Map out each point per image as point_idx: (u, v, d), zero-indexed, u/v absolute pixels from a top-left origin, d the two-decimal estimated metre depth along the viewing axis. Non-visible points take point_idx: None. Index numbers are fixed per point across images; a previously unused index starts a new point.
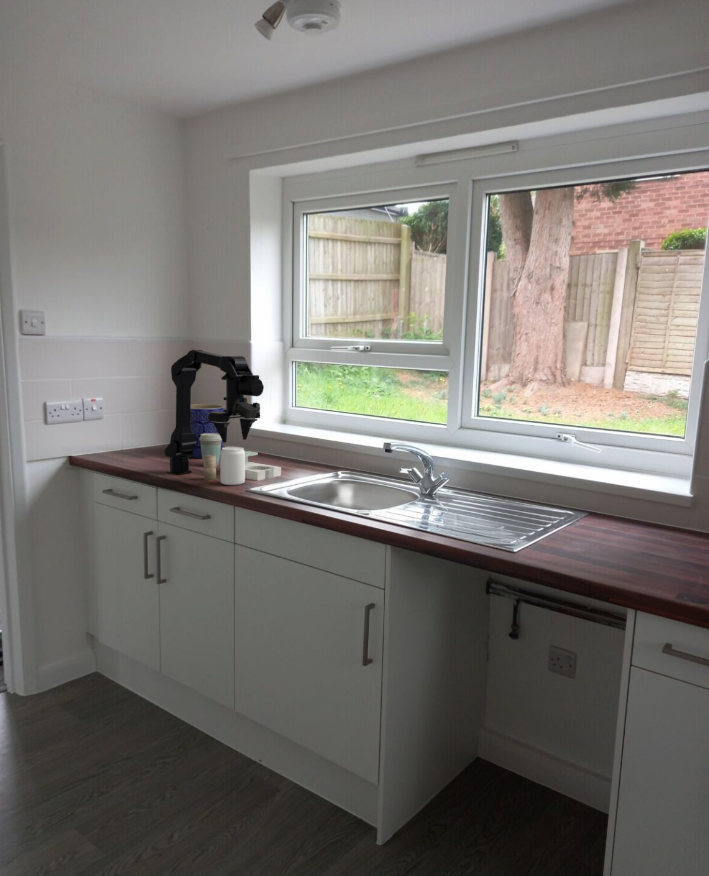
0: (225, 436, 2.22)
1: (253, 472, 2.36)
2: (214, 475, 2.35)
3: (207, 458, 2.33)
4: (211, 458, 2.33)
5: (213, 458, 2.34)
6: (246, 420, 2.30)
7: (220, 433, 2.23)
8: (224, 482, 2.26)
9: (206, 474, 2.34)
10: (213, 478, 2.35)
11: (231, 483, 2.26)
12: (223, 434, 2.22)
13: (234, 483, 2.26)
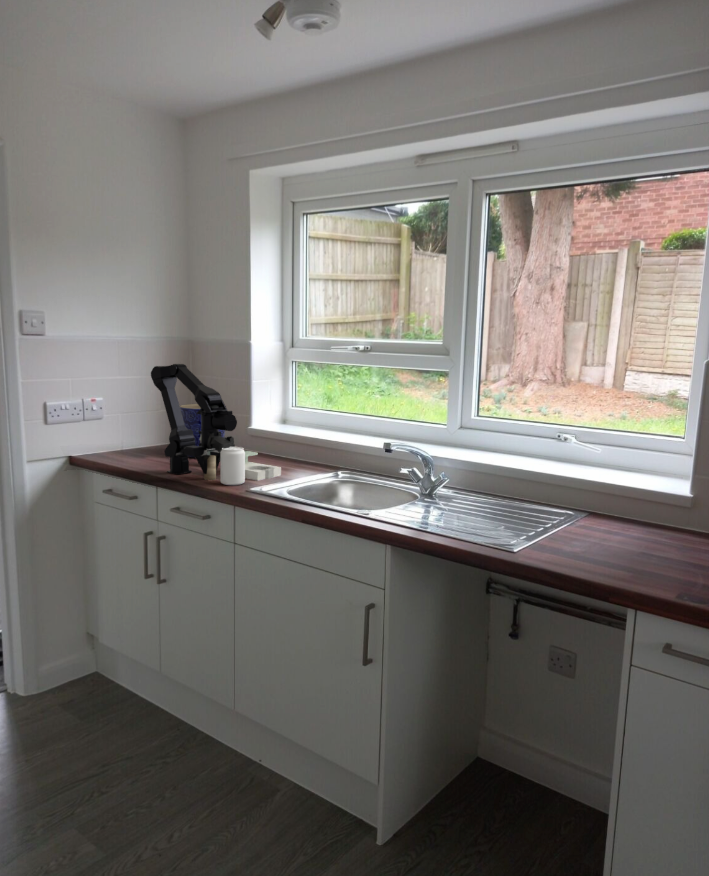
0: (205, 468, 2.33)
1: (253, 472, 2.36)
2: (214, 475, 2.35)
3: None
4: (211, 458, 2.33)
5: (213, 458, 2.34)
6: (216, 453, 2.37)
7: (201, 465, 2.33)
8: (224, 482, 2.26)
9: (206, 474, 2.34)
10: (213, 478, 2.35)
11: (231, 483, 2.26)
12: (203, 466, 2.33)
13: (234, 483, 2.26)
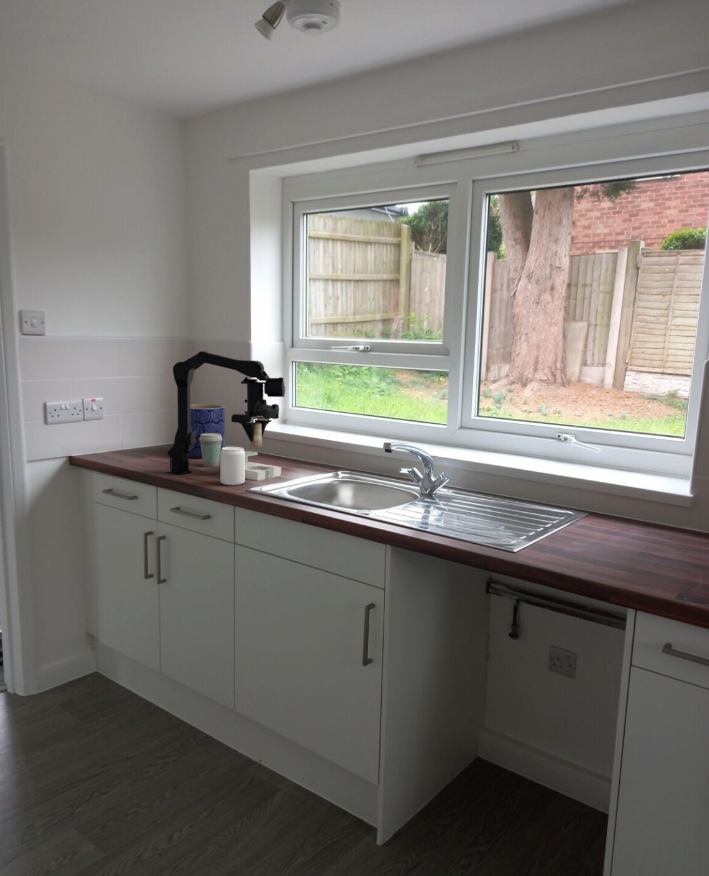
0: (252, 435, 2.39)
1: (253, 472, 2.36)
2: (260, 442, 2.41)
3: None
4: (257, 425, 2.40)
5: (259, 425, 2.40)
6: (261, 421, 2.43)
7: (247, 432, 2.40)
8: (224, 482, 2.26)
9: (252, 442, 2.40)
10: (259, 445, 2.41)
11: (231, 483, 2.26)
12: (250, 433, 2.39)
13: (234, 483, 2.26)
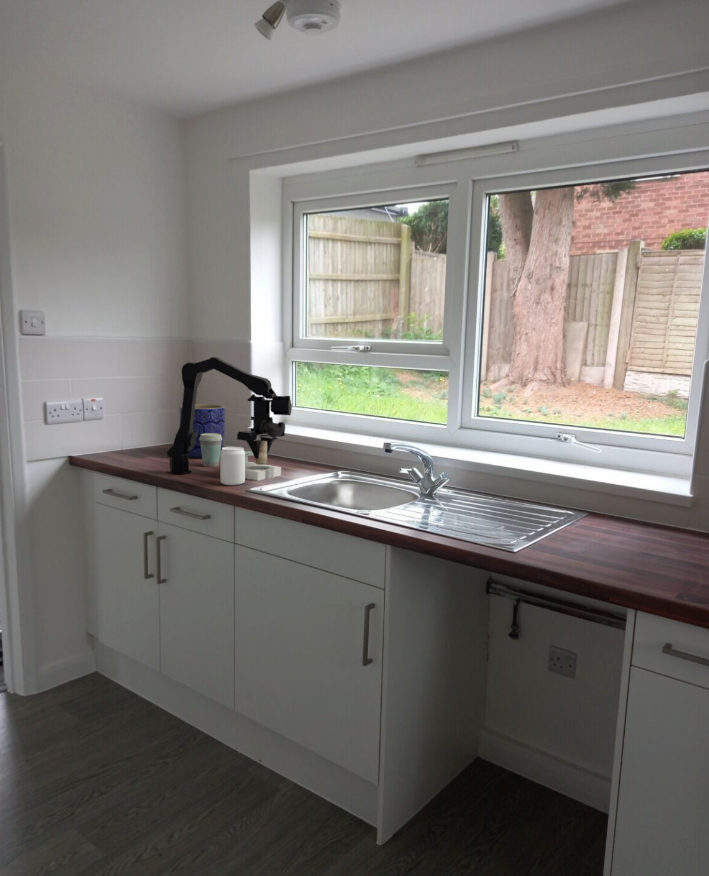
0: (257, 453, 2.39)
1: (253, 472, 2.36)
2: (265, 460, 2.41)
3: None
4: (263, 443, 2.39)
5: (265, 443, 2.39)
6: (267, 439, 2.43)
7: (253, 450, 2.39)
8: (224, 482, 2.26)
9: (257, 459, 2.40)
10: (264, 463, 2.40)
11: (231, 483, 2.26)
12: (255, 451, 2.38)
13: (234, 483, 2.26)
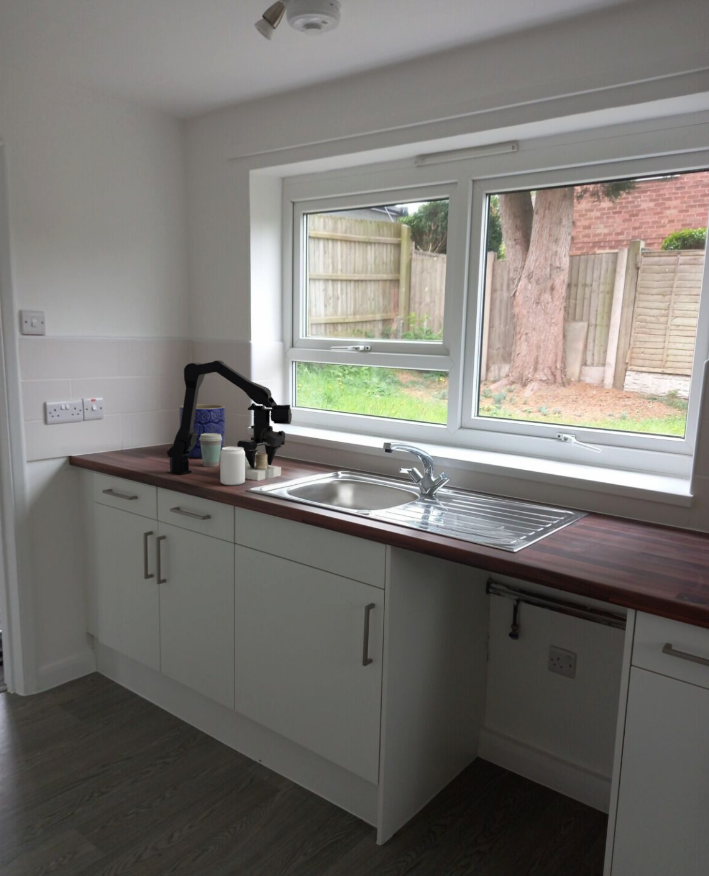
0: (253, 462, 2.37)
1: (253, 472, 2.36)
2: None
3: (259, 456, 2.39)
4: (263, 456, 2.40)
5: (265, 456, 2.40)
6: (271, 447, 2.45)
7: (248, 460, 2.38)
8: (224, 482, 2.26)
9: None
10: None
11: (231, 483, 2.26)
12: (251, 461, 2.37)
13: (234, 483, 2.26)
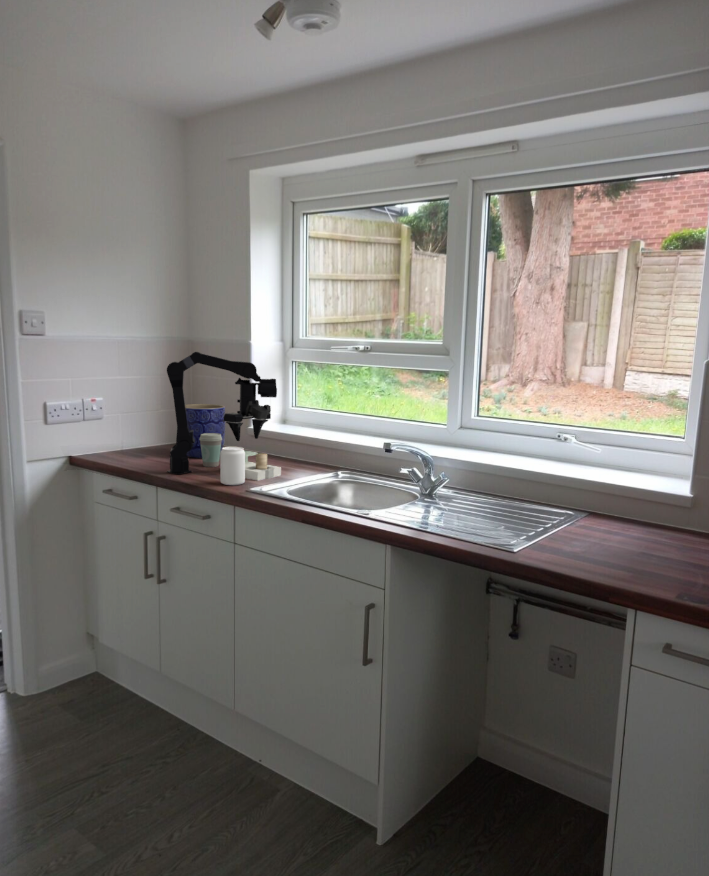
0: (238, 435, 2.44)
1: (253, 472, 2.36)
2: None
3: (259, 456, 2.39)
4: (263, 456, 2.40)
5: (265, 456, 2.40)
6: (258, 421, 2.51)
7: (234, 432, 2.44)
8: (224, 482, 2.26)
9: None
10: None
11: (231, 483, 2.26)
12: (237, 433, 2.43)
13: (234, 483, 2.26)
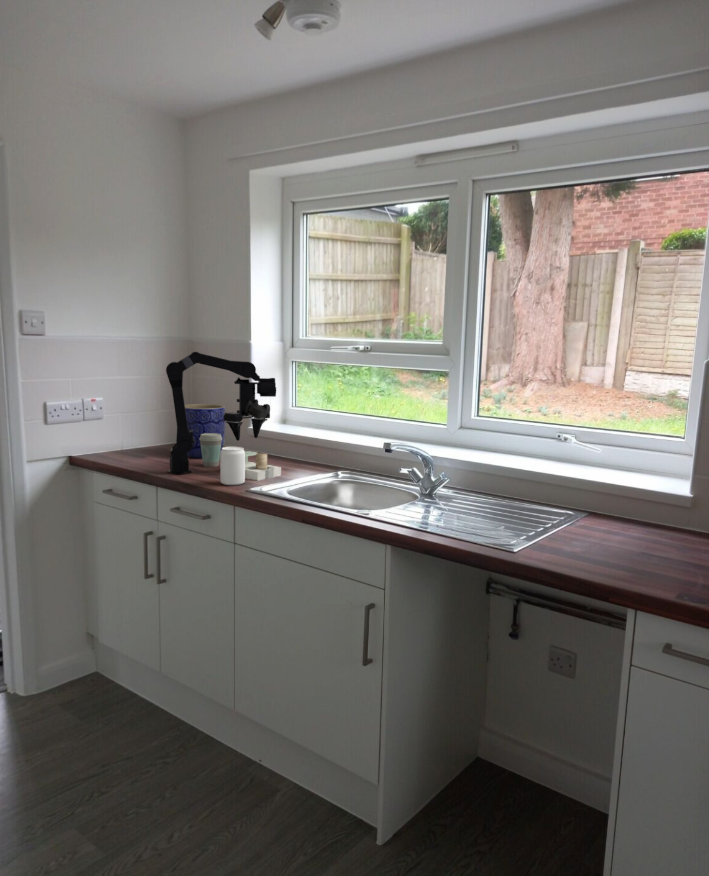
0: (238, 434, 2.44)
1: (253, 472, 2.36)
2: None
3: (259, 456, 2.39)
4: (263, 456, 2.40)
5: (265, 456, 2.40)
6: (257, 420, 2.52)
7: (234, 432, 2.44)
8: (224, 482, 2.26)
9: None
10: None
11: (231, 483, 2.26)
12: (237, 433, 2.44)
13: (234, 483, 2.26)
